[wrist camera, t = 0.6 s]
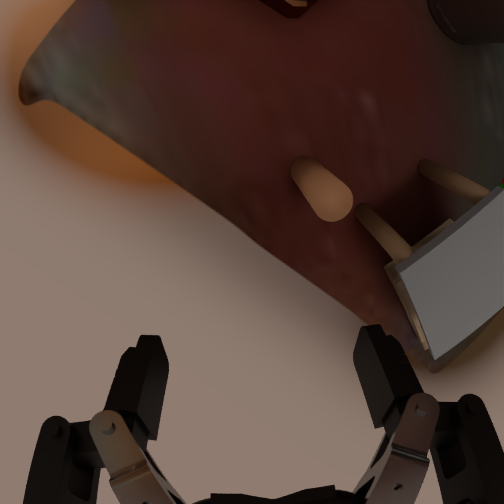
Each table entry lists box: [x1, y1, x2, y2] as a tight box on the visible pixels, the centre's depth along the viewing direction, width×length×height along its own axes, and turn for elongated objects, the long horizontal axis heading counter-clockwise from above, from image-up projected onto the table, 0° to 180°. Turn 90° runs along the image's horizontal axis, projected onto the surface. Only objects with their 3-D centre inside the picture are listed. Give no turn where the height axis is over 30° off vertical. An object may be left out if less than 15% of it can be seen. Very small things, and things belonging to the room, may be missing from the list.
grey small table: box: [354, 159, 504, 360], centre depth 29 cm, size 13×16×13 cm
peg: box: [290, 156, 353, 222], centre depth 26 cm, size 3×3×10 cm
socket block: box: [384, 218, 454, 350], centre depth 37 cm, size 12×18×4 cm, turn 37°
